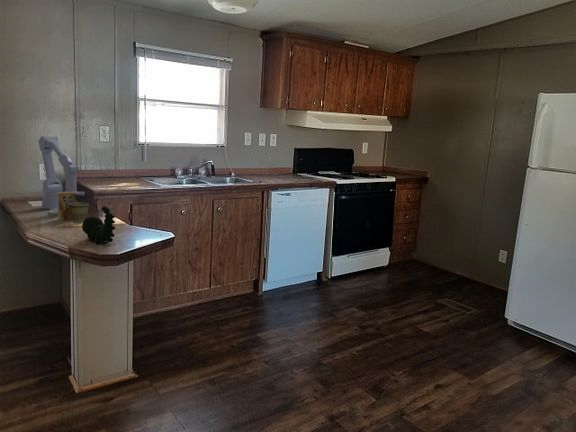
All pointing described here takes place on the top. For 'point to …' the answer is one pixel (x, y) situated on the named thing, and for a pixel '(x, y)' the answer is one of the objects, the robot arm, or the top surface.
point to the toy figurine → (99, 227)
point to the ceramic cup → (79, 211)
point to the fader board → (53, 212)
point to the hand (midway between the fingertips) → (71, 207)
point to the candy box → (65, 204)
